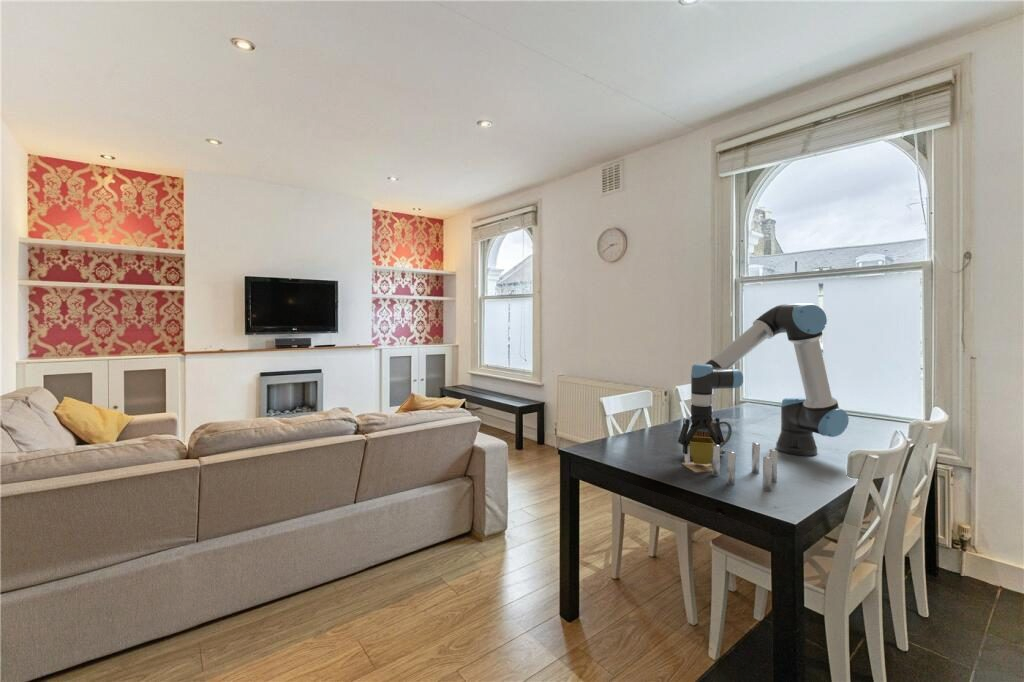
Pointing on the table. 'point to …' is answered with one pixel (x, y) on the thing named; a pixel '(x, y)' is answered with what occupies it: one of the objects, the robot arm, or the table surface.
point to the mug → (705, 434)
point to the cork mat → (698, 467)
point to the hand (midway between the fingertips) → (700, 461)
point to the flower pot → (701, 449)
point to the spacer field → (768, 465)
